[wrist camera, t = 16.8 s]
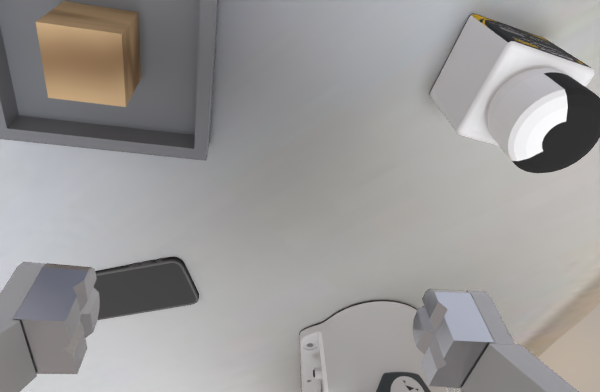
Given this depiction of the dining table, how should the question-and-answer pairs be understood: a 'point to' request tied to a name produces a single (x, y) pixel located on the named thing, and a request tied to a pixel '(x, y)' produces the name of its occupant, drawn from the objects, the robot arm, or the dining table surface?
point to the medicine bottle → (519, 96)
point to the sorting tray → (146, 98)
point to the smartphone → (144, 287)
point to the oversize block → (90, 53)
